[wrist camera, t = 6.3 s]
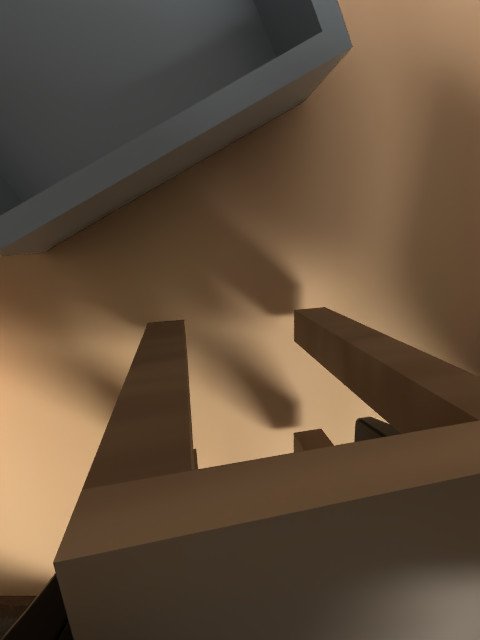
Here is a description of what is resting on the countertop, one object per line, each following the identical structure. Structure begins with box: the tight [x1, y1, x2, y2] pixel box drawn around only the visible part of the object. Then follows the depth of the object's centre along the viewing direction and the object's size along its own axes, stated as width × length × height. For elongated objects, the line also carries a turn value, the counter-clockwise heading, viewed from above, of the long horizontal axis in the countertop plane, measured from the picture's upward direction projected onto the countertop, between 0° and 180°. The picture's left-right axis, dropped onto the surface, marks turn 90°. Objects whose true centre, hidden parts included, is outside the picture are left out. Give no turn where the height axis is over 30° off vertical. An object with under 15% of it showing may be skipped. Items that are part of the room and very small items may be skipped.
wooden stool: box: [53, 307, 480, 640], centre depth 8 cm, size 6×6×8 cm
